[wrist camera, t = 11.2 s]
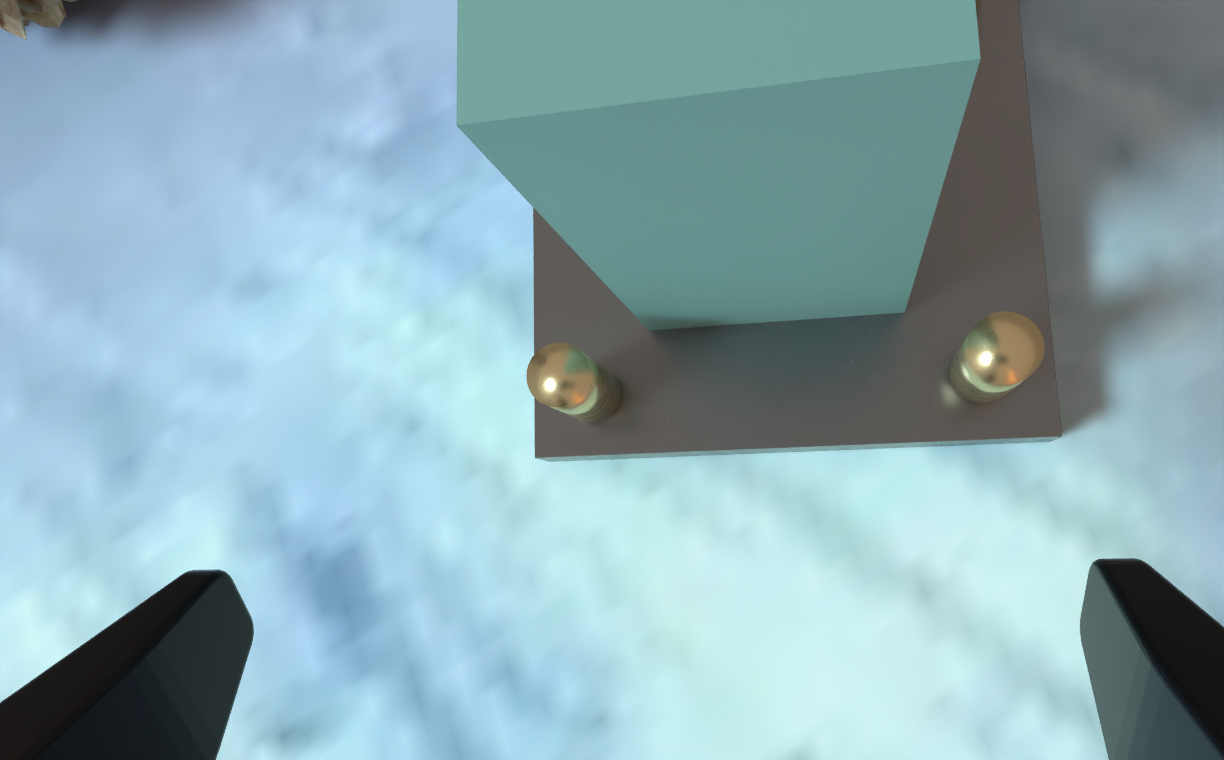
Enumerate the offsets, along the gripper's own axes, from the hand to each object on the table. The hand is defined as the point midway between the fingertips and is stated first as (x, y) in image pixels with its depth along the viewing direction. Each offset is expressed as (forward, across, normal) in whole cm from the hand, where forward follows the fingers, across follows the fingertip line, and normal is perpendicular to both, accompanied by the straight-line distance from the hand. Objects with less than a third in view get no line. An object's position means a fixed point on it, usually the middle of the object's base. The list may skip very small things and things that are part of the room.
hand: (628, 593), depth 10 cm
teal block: (+15, -1, +2) cm, 15 cm away
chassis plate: (+16, -2, +3) cm, 16 cm away
